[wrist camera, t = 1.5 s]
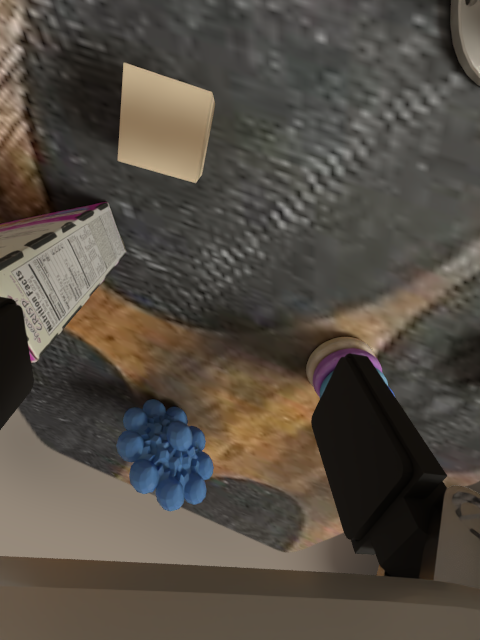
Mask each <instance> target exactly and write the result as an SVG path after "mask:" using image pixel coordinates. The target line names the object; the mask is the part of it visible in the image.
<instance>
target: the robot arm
mask: <svg viewBox="0 0 480 640" xmlns="http://www.w3.org/2000/svg"><path fill="white" fill-rule="evenodd" d="M450 26H451V34H452V41H453V46H454V49H455V52H456V55H457V58H458V61H459V63H460V65H461V66H462V68H463V70H464V71H465V73H466V74H467V76H468V77H470V78H471V79H472V80H473V81H474V82H475V83H476V84H477V85H479V86H480V0H466V3H465V0H451V16H450ZM33 382H34V378H33V372H32V365H31V359H30V353H29V347H28V340H27V334H26V328H25V321H24V315H23V310H22V307H21V306H19V305H17V304H16V302H15V301H14V300H13V299H11V298H5V297H0V430H1V428H2V427H3V426H4V424H5V423H6V422H7V421H8V419H9V418H10V417H11V416H12V414H13V413H14V412H15V410H16V409H17V408H18V407H19V405H20V404H21V403H22V402H23V400H24V399H25V398H26V396H27V395H28V394H29V393H30V391H31V389H32V387H33ZM311 423H312V428H313V432H314V435H315V438H316V442H317V445H318V448H319V452H320V455H321V458H322V461H323V465H324V468H325V471H326V475H327V478H328V481H329V484H330V488H331V491H332V494H333V498H334V501H335V504H336V508H337V511H338V514H339V517H340V521H341V524H342V527H343V531H344V533H345V535H346V537H347V538H348V539H351V542H352V545H353V548H354V551H355V553H357V554H372V555H374V554H376V556H377V559H378V562H379V564H380V565H379V568H378V572H377V575H362V574H348V573H330V572H311V571H293V570H275V569H255V568H237V567H217V566H198V565H178V564H157V563H137V562H115V561H94V560H75V559H74V560H73V559H53V558H52V559H51V558H29V557H8V556H0V640H480V494H479V493H477V492H475V491H474V490H472V489H469V488H466V487H463V486H451V487H449V488H446V486H445V484H444V483H443V480H444V479H445V478H446V477H447V475H446V473H445V472H444V470H443V469H442V467H441V466H440V464H439V463H438V461H437V460H436V458H435V457H434V455H433V454H432V452H431V451H430V449H429V448H428V446H427V445H426V443H425V442H424V440H423V439H422V437H421V436H420V434H419V433H418V431H417V430H416V428H415V427H414V425H413V424H412V422H411V421H410V419H409V418H408V416H407V415H406V413H405V412H404V410H403V408H402V407H401V405H400V404H399V402H398V401H397V399H396V398H395V396H394V395H393V393H392V392H391V390H390V389H389V387H388V386H387V384H386V383H385V381H384V380H383V378H382V377H381V375H380V374H379V372H378V371H377V369H376V368H375V366H374V365H373V363H372V362H371V360H370V359H369V358H368V357H367V356H363V355H357V354H351V353H349V354H347V355H346V356H345V357H341V358H340V359H339V361H338V363H337V365H336V367H335V369H334V371H333V373H332V376H331V378H330V380H329V382H328V384H327V386H326V388H325V390H324V392H323V394H322V396H321V398H320V401H319V403H318V405H317V407H316V409H315V411H314V413H313V415H312V421H311Z"/></svg>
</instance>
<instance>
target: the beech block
mask: <svg viewBox="0 0 480 640" xmlns="http://www.w3.org/2000/svg"><path fill="white" fill-rule="evenodd" d="M214 107H215V101H214V98H213V94H212V92H210V91H207V90H204V89H201V88H198V87H195V86H192V85H189V84H186V83H183V82H180V81H177V80H174V79H171V78H168V77H165V76H162V75H159V74H157V73H154V72H151V71H148V70H145V69H142V68H139V67H136V66H133V65H130V64H127V63H124V65H123V81H122V98H121V114H120V130H119V147H118V161H120V162H123V163H127V164H130V165H134V166H137V167H141V168H145V169H148V170H152V171H155V172H159V173H162V174H166V175H169V176H173V177H176V178H180V179H183V180H187V181H190V182H194V183H196V182H197V181H198V179H199V178H200V177H201V175H202V171H203V166H204V161H205V155H206V150H207V145H208V139H209V134H210V129H211V123H212V118H213V113H214Z"/></svg>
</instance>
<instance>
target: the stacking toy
mask: <svg viewBox="0 0 480 640" xmlns="http://www.w3.org/2000/svg"><path fill="white" fill-rule="evenodd" d="M349 353H351V354H357V355H363V356H367V357H368V358H369V359H370V360H371V362H372V363H373V365H374V366H375V368H376V369H377V371H378V372H379V374H380V375H381V377H382V378H383V380H384V381H385V383H386V384H387V386H388V383H387V380H386V377H385V376H384V375H383V373H382V368H381V365H380V363H379V361H378V360H377V358H376V357H375V354H374V352H373V350H372V349H371V347H370V346H369V345H368V344H366V343H365V342H363V341H362V340H359V339H356V338H352V337H338V338H334V339H331V340H329V341H326V342H324V343H323V344H321V345H320V346H319V347H317V348H316V349H315V350H314V351H313V353H312V354H311V356H310V357H309V359H308V362H307V366H306V373H307V377H308V380H309V382H310V383H311V385H312V386H313V387H314V389H315V391H316V393H317V394H318V396H319V397H320V398H321V396H322V394H323V392H324V390H325V388H326V386H327V384H328V382H329V380H330V378H331V376H332V373H333V371H334V369H335V367H336V365H337V363H338V361H339V359H340V358H341V357H345V356H346V355H347V354H349ZM389 389H390V388H389ZM390 390H391V389H390ZM391 392H392V390H391ZM392 393H393V392H392ZM393 395H394V393H393Z"/></svg>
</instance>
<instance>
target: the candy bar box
mask: <svg viewBox="0 0 480 640" xmlns="http://www.w3.org/2000/svg"><path fill="white" fill-rule="evenodd" d="M125 254H126V249H125V246H124V244H123V241H122V239H121V236H120V234H119V232H118V229H117V226H116V223H115V220H114V217H113V215H112V212H111V209H110V207H109V204H108V202H103V203H98V204H93V205H88V206H84V207H79V208H74V209H69V210H64V211H59V212H54V213H49V214H44V215H40V216H35V217H30V218H25V219H20V220H15V221H10V222H6V223H1V224H0V297H5V298H11V299H13V300H14V301H15V302H16V304H17V305H19V306H21V307H22V310H23V315H24V321H25V328H26V334H27V340H28V347H29V353H30V359H31V363H32V362H36V361H38V359H39V358H40V357H41V355H42V354H43V353H44V352H45V351H46V349H47V348H48V347H49V346H50V345H51V343H52V342H53V341H54V340H55V338H56V337H57V336H58V335H59V334H60V333H61V331H62V330H63V329H64V328H65V326H66V325H67V324H68V323H69V322H70V320H71V319H72V318H73V317H74V316H75V314H76V313H77V312H78V311H79V310H80V309H81V307H82V306H83V305H84V304H85V302H86V301H87V300H88V299H89V297H90V295H91V294H92V293H93V292H94V291H95V290H96V289H97V287H98V286H99V285H100V284H101V283H102V282H103V281H104V279H105V278H106V277H107V276H108V274H109V273H110V272H111V271H112V270H113V269H114V267H115V266H116V265H117V264H118V262H119V261H120V260H121V259H122V258H123V257H124V255H125Z"/></svg>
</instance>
